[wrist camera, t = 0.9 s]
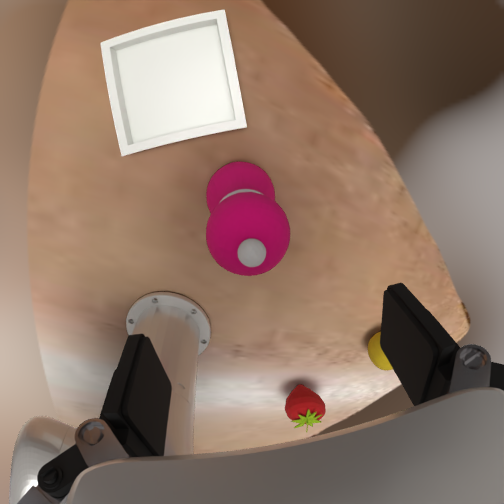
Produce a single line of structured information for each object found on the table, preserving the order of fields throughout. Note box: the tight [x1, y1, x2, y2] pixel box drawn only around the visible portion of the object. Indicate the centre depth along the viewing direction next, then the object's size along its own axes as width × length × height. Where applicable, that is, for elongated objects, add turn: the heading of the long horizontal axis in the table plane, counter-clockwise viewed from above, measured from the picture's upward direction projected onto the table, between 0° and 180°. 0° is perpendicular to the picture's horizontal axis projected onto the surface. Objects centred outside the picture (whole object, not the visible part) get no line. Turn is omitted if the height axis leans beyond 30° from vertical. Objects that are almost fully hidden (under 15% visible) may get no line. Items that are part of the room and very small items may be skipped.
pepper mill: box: [206, 162, 290, 276], centre depth 28 cm, size 7×7×20 cm
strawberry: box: [285, 384, 325, 432], centre depth 47 cm, size 6×8×10 cm
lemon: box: [368, 332, 393, 370], centre depth 45 cm, size 6×6×8 cm
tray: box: [101, 10, 247, 156], centre depth 30 cm, size 14×14×3 cm
